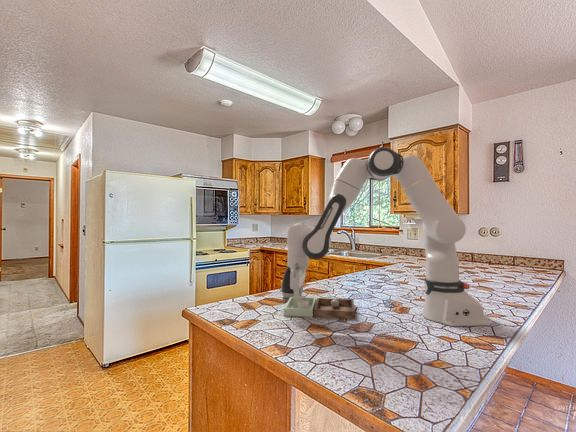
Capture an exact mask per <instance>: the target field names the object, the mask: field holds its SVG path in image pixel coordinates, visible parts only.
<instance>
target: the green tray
mask: <svg viewBox="0 0 576 432" xmlns="http://www.w3.org/2000/svg"><path fill="white" fill-rule="evenodd" d="M304 300H306V301H309V309H302V308H293V297H290V299H288V301H287V302H286V304H285V305H284V307H283V316H284V317H305V318H313V317H314V308H315V304H316V301H317V297H306V296H304Z"/></svg>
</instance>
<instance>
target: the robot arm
mask: <svg viewBox="0 0 576 432" xmlns="http://www.w3.org/2000/svg"><path fill="white" fill-rule="evenodd" d="M390 177H392V178H394V179H395V180H396V181H398V183H399V184H400V186H401V188H402V190H403V192H404V194H405V196H406V198H407V200H408V202H409V203H410V205H411V207H412V208H413V210H415V213H416V214H417V215H418V216H419V218H420V219H421V221H422V227H421V228H422V236H423V245H424V246H423V247H424V252H425V253H424V254H425V278H424V292H425V296H424V297H425V298H424V303H423V309H422V310H421V311H422V312H421V315H422V317H423V318H424V319H427V320H430V321H433V322H436V323H441V324H444V325H446V326H449V327H465V326H466V327H469V326H470V327H474V326H476V327H478V326H479V327H480V326H492V324H493V322H492V319H491V318H490V317H489V316H488V315H486V314H485V313H484V312H485V311H484V308H483V305H482V304H481V303H480V302H479V300H477V299H476V298H474V297H473V296H472V295H471V294H469V293H468V292H467V291H466V290H470V289H471V285H470V284H469V283H467V282H463V281H462V280H460V259H459V255H458V253H457V248H456V243H458V242H459V241H461V240H462V239H463V238H464V236H465V234H466V232H467V231H466V230H467V229H466V225H465V222H464V221H463V220H462V219H461V217H459V215H458V214H457V212H456V211H455V210H454V208H453V207H452V206H451V204H450V203H449V202H448V201H447V199H446V198H445V197H444V195H443V194H442V192H441V190H440V188H439V186H437V183H436V182H435V180H434V178H433V176H432V175H431V173H430V171H429V170H428V168H427V167H426V165H425V164H424V162H423V161H422V160H421V159H420V158H419V157H418V155H415V154H407V155H405V156H403V155H402V154H400V153H398V152H396V151H394V150H393V149H391V148H390V147H386V146H385V147H384V146H383V147H379V148H376V149H374V150H373V151H372V152H371V153H370V154H369V156H368V158H367V159H360V158H357V157H352V158H351V157H350V158H348V159H347V160H346V161H345V163H344V164H343V165H342V167H341V168H340V170H339V172H338V173H337V176H336V177H335V179H334V180H333V183H332V186H331V188H330V192H329V196H328V198H327V201H326V202H327V203H326V205H325V208H324V210H323V212H322V214H321V216H320V218H319V220H318V221H317V224H316V226H315V227H312V226H310V225H308V224H307V222H297V223H294V224H291V225H289V226H288V229H287V236H286V237H287V238H286V245H287V248H288V249H287V254H286V255H287V256H286V257H287V268H288V267H290V269H291V273H290V288H291V289H293V291H294V298H295V299H298V298H299V293H301V292H302V285H304V284H303V283H304V281H305V279H306V274H307V268H308V267H309V265H310V264H309V262H310V261H309V259H312V260H319V259H322V258H325V256H326V255H327V254H328V252H329V250H330V248H331V246H332V239H331V235H332V233H333V232H334V229H335V227H336V224H337V223H338V221H339V219H340V217H341V216H342V215H343V213H345V211H347V209H349V208H350V207H351V206H352V204H353V203H354V202H355V200H356V199H357V198H358V196H359V195H360V192H361V190H362V188H363V186H364V185H365V183H366V182H367V180H372V181H377V182H378V181H385V180H387V179H389V178H390ZM302 293H303V292H302Z"/></svg>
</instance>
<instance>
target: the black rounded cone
mask: <svg viewBox="0 0 576 432" xmlns="http://www.w3.org/2000/svg"><path fill="white" fill-rule="evenodd" d="M290 273H291V269H290V267H288V266H287V268H286V269H285V271H284V274H283V277H282V281H281V287H280V290H281V294H282V296H283V298H285V299H288V300H289V299H290V297H294V291H293V289H291V288H290ZM303 285H304V284H303ZM303 285H302V292H301V293H299V296H303V295H302V294H303V291H304V286H303Z"/></svg>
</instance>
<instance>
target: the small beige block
mask: <svg viewBox="0 0 576 432" xmlns="http://www.w3.org/2000/svg"><path fill="white" fill-rule="evenodd" d="M298 308H302V309H309V301H306V300H299V302H298Z"/></svg>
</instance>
